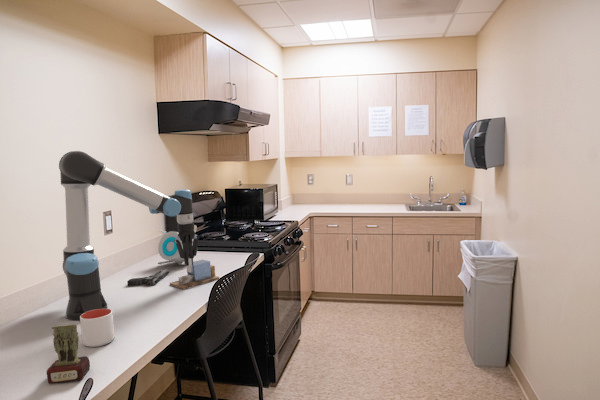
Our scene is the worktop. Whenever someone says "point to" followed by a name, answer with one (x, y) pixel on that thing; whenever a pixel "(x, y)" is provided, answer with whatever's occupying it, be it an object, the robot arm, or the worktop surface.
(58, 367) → the sculpture
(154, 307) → the worktop surface
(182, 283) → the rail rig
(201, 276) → the slate grey block
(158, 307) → the worktop surface
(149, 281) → the handgun
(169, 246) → the satellite
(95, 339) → the cup
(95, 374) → the worktop surface
